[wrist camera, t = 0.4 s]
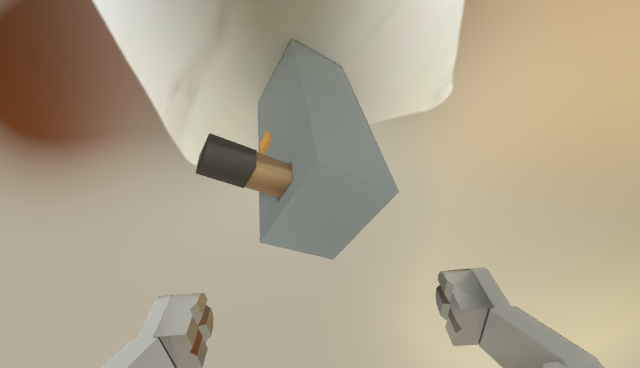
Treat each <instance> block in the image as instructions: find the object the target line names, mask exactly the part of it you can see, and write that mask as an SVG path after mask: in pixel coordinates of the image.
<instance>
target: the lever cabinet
mask: <svg viewBox="0 0 640 368" xmlns="http://www.w3.org/2000/svg"><path fill="white" fill-rule="evenodd" d="M258 131H259V153H261V154H264V155H266V156H269V157H272V158H275V159H277V160H280V161H283V162H286V163H288V164H291V165H292V172H293V182H292V183H291V184H290V186H289V187H288V189H287V190H286V192H285V193H284V194H283V196H282V197H281V198H279V197H276V196H273V195H269V194H266V193H263V192H260V191H259V207H260V242H261V243H265V244H269V245H274V246H278V247H282V248H286V249H291V250H295V251H299V252H304V253H308V254H312V255H317V256H321V257H325V258H329V259H334V258H335V257H336V256H337V255H338V254H339V253H340V251H342V250H343V249H344V248H345V247H346V246H347V244H349V242H351V240H352V239H353V238H354V237H355V236H356V235H357V234H358V233H359V232H360V231H361V230H362V229H363V228H364V227H365V226H366V225H367V224H368V223H369V222H370V221H371V220H372V219H373V218H374V217H375V216H376V215H377V214H378V213H379V212H380V211H381V210H382V209H383V208H384V207H385V206H386V204H387V203H388V202H389V201H390V200H391V199H392V198H393V197H394V196H395V195H396V194H397V193H398V192H399V191H398V188H397V187H396V184H395V182H394V180H393V177H392V175H391V173H390V171H389V169H388V167H387V164H386V162H385V160H384V158H383V155H382V153H381V151H380V149H379V147H378V145H377V142H376V140H375V138H374V136H373V133H372V131H371V129H370V127H369V125H368V122H367V120H366V118H365V116H364V114H363V111H362V109H361V107H360V105H359V103H358V100H357V98H356V96H355V94H354V92H353V89H352V87H351V85H350V83H349V81H348V78H347V76H346V74H345V72H344V70H343V67H341V66H340V65H338V64H336V63H334V62H332V61H331V60H329V59H327V58H325V57H323V56H322V55H320V54H318V53H316V52H314V51H313V50H311V49H309V48H307V47H305V46H304V45H302V44H300V43H298V42H297V41H295V40H293V39H291V41H290V43H289V45H288V47H287V49H286V51H285V53H284V55H283V57H282V58H281V60H280V62H279V64H278V66H277V68H276V70H275V72H274V74H273V76H272V78H271V80H270V82H269V84H268V86H267V87H266V89H265V91H264V93H263V95H262V97H261V99H260V101H259V103H258Z"/></svg>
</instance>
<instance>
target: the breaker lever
mask: <svg viewBox="0 0 640 368" xmlns="http://www.w3.org/2000/svg"><path fill="white" fill-rule="evenodd" d="M196 174H200V175H203V176H206V177H210V178H213V179H216V180H219V181H223V182H226V183H229V184H232V185H236V186H239V187H242V188H244V187H247V188H250V189H253V190H257V191H260V192H263V193H266V194H269V195H273V196H276V197H279V198H281V197H282V196H283V194H284V193H285V192H286V190H287V189H288V187H289V186H290V184H291V183H292V182H293V172H292V165H291V164H288V163H286V162H283V161H280V160H277V159H275V158H272V157H269V156H266V155H264V154H261V153H258V152H256V150H254V149H251V148H248V147H246V146H243V145H240V144H237V143H235V142H232V141H229V140H226V139H224V138H221V137H218V136H216V135H213V134H210V133H209V136H208V138H207V140H206V142H205V145H204V147H203V149H202V151H201V154H200V156H199V160H198V165H197V170H196Z"/></svg>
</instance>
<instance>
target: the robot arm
mask: <svg viewBox="0 0 640 368" xmlns="http://www.w3.org/2000/svg"><path fill="white" fill-rule="evenodd" d="M438 281H439V283H440V285H439V286H438V287H437V288H436V301H437V306H438V310H439V312H440V315H441V316H442V317H443V318H444V319H446V320H447V323H446V330H447V332H448V334H449V337H450V339H451V342H452V344H453V346H460V345H478V344H480V345H479V346H480V347H481V348H482V349H483V350H484V351H485V352H487V353H488V354H489V355H490V356H491V357H492V358H493V359H494V360H495V361H496V362H497V363H498V364H499V365H501V366H502V367H503V368H604V367H603V366H602V364H601V363H600V362H599V361H598V359H597V358H596V357H594V356H593V355H591V354H590V353H588V352H587V351H585V350H584V349H582V348H580V347H579V346H577V345H576V344H574V343H572V342H571V341H569V340H568V339H566V338H565V337H563V336H562V335H560V334H559V333H557V332H555V331H554V330H552V329H551V328H549V327H548V326H546V325H545V324H543V323H541V322H540V321H538V320H537V319H535V318H534V317H532V316H530V315H529V314H527V313H526V312H524V311H523V310H521V309H520V308H518V307H516V306H514V307H512V306H511V305H510V303H509V302H508V300H507V299H506V297H505V296H504V294H503V292H502V291H501V289H500V288H499V286H498V285H497V283H496V282H495V280H494V279H493V277H492V275H491V274H490V272H489V271H488V269H486V268H485V267H482V268H471V269H459V270H449V271H440V273H439V275H438ZM206 302H207V298H206V296H205V294H204V293H195V294H178V295H165V296H159V297H158V298H157V299H156V300H155V302H154V304H153V307H152V309H151V310H150V313H149V315H148V317H147V319H146V321H145V323H144V325H143V327H142V329H141V331H140V334H139V336H138V338H137V339H135V340H132V341H130V342H129V343H128V344H127V345H126V346H125V347H124V348H123V349H121V350H120V351H119V352H118V353H117V354H116V355H115V356H113V357H112V358H111V359H110V360H109V361H108V362H107V363H105V364H104V365H103V366H102V367H101V368H202V367H203V364H204V359H205V356H206V353H207V346H206V343H205V342H206V341H207V339H208V338H209V337H210V336H211V334H212V330H213V313H212V310H211V308H210V307H208V306H207V305H206Z"/></svg>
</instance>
